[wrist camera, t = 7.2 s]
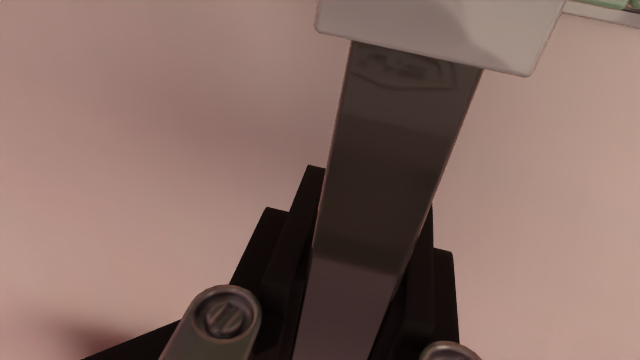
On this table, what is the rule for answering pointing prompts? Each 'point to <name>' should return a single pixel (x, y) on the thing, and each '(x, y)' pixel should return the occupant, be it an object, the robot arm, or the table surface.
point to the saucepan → (399, 145)
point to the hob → (604, 14)
